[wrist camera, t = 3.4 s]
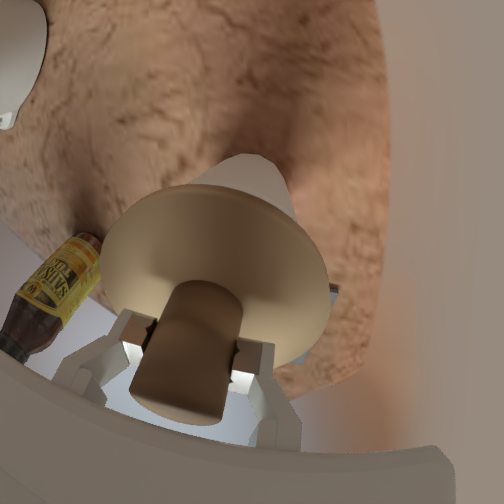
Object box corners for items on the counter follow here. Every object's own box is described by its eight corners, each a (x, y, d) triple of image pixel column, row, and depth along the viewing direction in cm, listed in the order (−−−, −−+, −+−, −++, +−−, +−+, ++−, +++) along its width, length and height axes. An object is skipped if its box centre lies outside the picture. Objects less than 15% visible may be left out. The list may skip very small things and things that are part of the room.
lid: (125, 333, 17) (88, 409, 12) (97, 168, 10) (-5, 248, 5) (292, 371, 17) (286, 461, 12) (365, 217, 10) (412, 347, 5)
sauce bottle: (111, 237, 29) (5, 382, 13) (113, 277, 33) (33, 410, 16) (68, 222, 29) (-39, 343, 12) (73, 261, 32) (-11, 377, 16)
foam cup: (210, 121, 21) (128, 174, 10) (319, 157, 22) (347, 246, 11) (187, 217, 26) (125, 320, 16) (280, 248, 27) (269, 366, 16)
